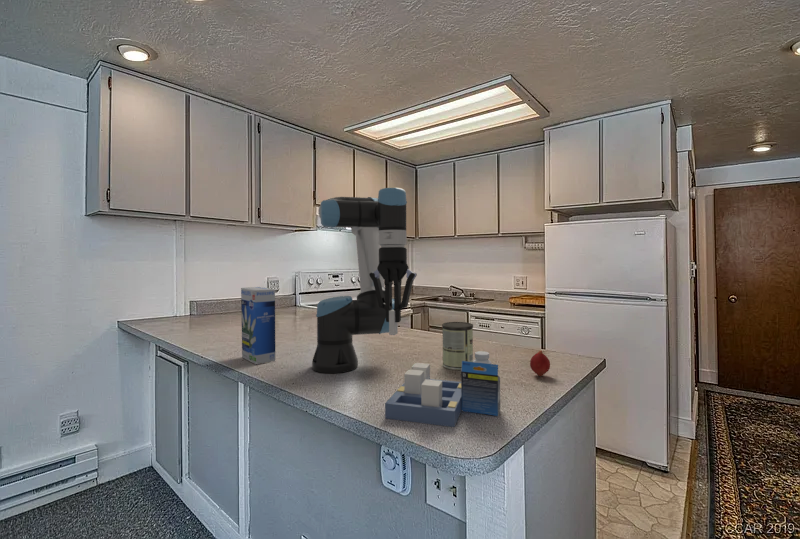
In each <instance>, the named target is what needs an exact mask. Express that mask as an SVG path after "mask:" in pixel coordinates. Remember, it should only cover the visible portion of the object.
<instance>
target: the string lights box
mask: <svg viewBox="0 0 800 539" xmlns="http://www.w3.org/2000/svg"><path fill="white" fill-rule="evenodd" d="M240 296H241V297H240V298H241V299H240V301H241V303H240V305H241V310H240V311H241V312H240V313H241V358H243V359H244V360H246V361H249V362H250V363H253V364H254V365H256V364H257V365H261V364H260V363H262V364H266V363H265V362H268V363H271V362H270V361H273V362H276V361H275V360H276V289H273V288H272V289H271V288H267V287H262V286H250V287H241V288H240Z"/></svg>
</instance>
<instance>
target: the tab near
mask: <svg viewBox="0 0 800 539" xmlns="http://www.w3.org/2000/svg"><path fill="white" fill-rule="evenodd" d="M438 380H439V379H435V380H427V379H425V381H424V382H423V383H422V385H421V405H423V406H432V407H441V408H442V381H438Z"/></svg>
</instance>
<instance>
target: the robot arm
mask: <svg viewBox="0 0 800 539" xmlns="http://www.w3.org/2000/svg"><path fill="white" fill-rule="evenodd" d="M377 196H378V197H371V196H370V197H369V196H368V197H360V196H359V197H357V196H356V197H355V196H336V197H332V198H331V197H330V198H328V199H324V200H322V201H321V202H320V205H319V206H318V216H319V219H320V224H321V226H322V227H324V228H325V227H327V228H329V227H330V228H350V230H351V233H352V234H353V235H354V236H355V240H356V250H357V263H358V277H359V286H360V287H359V289H360V290H359V291H360V292H359V293H358V294H357V295H356V300H355V299H353V297H352V296H351V295H344V296H343V295H340V296H334V297H328V298H325V299H321V300H320V301H319V302H318V303H317V305H316V315H315V317H316V341H317V342H316V347H315V348H316V349H315V351H314V355H313V358H312V360H311V369H312V370H313V371H314V372H317V373H321V374H341V373H342V374H343V373H347V372H351V371H354V370H355V369H357V368H358V367H359V358H358V355H357V353H356V350H355V346H354V345H353V336H354V335H356V336H359V335H374V334H375V335H376V334H379V335H381V334H387V333H389V334H388V335H389V336H395V335H398V334H399V333H398V332H399V331H398V330H399V329H398V326H399V324H398V323H400V322H401V320H402V310H403V309H405V308H408V306H409V301H410V296H411V292H412V287H413V283H414V281H415V279H416V277H417V276H418V275H417V272H414V271H412V270H411V269H409V268H410V267H409V265H408V263H407V262H408V259H407V258H408V254H407V253H408V252H407V250H408V249H407V247H405V246H407V243H408V242H407V239H408V238H407V236H408V234H407V203H408V201H407V192H406V190H405V189H403V188H401V187H384V188H380V189H379V190H378V194H377ZM405 276H406V281H405V285H404V290H403V294H402V283H403V282H402V280H403V278H404V277H405Z"/></svg>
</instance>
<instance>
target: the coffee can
mask: <svg viewBox="0 0 800 539" xmlns="http://www.w3.org/2000/svg"><path fill="white" fill-rule="evenodd" d="M441 327H442V367H444V368H445V369H448V370H453V371H461V368H462V361H469V362H473V360H474V350H473V349H474V342H473V340H474V337H473V336H474V329H473V328H474V324H473V323H471V322H466V321H447V322H444V323H442V324H441Z"/></svg>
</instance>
